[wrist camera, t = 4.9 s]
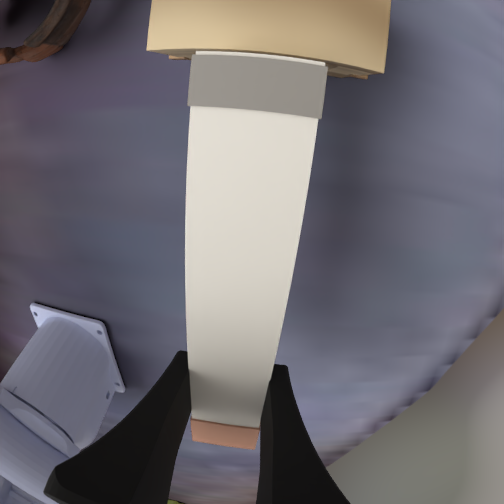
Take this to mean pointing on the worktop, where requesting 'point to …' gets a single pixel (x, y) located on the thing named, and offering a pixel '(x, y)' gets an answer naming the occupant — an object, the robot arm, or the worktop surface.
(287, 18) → the tan wooden brick
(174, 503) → the plant pot
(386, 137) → the worktop surface
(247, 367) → the white bar
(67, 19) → the pottery mug
